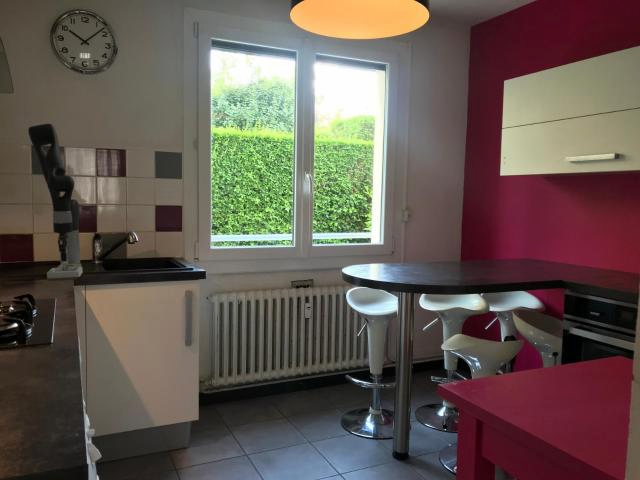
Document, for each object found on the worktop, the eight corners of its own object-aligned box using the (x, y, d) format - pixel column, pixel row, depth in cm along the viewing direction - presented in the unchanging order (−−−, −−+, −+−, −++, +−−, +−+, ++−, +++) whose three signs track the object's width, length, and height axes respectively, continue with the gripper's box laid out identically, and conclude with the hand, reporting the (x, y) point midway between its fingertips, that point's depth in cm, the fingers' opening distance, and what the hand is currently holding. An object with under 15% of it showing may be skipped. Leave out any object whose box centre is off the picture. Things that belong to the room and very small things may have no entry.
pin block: (60, 271, 247) (60, 264, 246) (81, 271, 250) (81, 263, 249) (57, 275, 238) (56, 267, 238) (78, 274, 241) (78, 266, 241)
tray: (52, 275, 237) (52, 268, 236) (82, 274, 240) (82, 267, 240) (47, 280, 225) (46, 272, 224) (78, 279, 229) (78, 271, 228)
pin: (62, 269, 233) (61, 247, 232) (68, 269, 234) (67, 247, 233) (61, 270, 231) (60, 248, 229) (68, 270, 231) (66, 247, 230)
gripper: (56, 220, 235) (57, 258, 237) (50, 222, 222) (52, 263, 224) (74, 220, 237) (76, 258, 239) (69, 222, 224) (71, 262, 226)
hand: (64, 260), depth 232 cm, fingers closed on pin, 2 cm apart
